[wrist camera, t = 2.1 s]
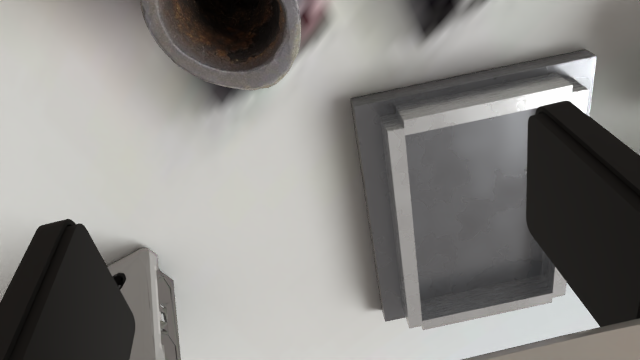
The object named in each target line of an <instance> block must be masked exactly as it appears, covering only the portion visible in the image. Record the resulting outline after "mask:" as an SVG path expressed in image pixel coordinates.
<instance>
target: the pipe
mask: <svg viewBox="0 0 640 360" xmlns="http://www.w3.org/2000/svg"><path fill="white" fill-rule="evenodd" d="M141 10H142V13H143V16H144V20H145V23H146V25H147V27H148V29H149V31H150V33H151V35H152V36H153V38H154V39H155V41H156V42H157V44H158V45H159V47H160V48H161V49H162V50H163V51H164V52H165V53H166V54H167V55H168V56H169V57H170V58H171V59H172V60H173V61H174V63H176V64H177V65H178V66H179V67H180V68H182V69H183V70H185V71H187V72H189V73H191V74H192V75H194V76H196V77H198V78H200V79H202V80H204V81H207V82H209V83H213V84H217V85H220V86H225V87H230V88H237V89H244V90H257V89H260V88H269V87H271V86H273V85H275V84H277V83H278V82H279V81H280V80H281V79H282V78H283V77H284V76H285V75H286V74H287V72H288V71H289V70H290V67H291V65H292V63H293V61H294V59H295V57H296V55H297V53H298V51H299V46H300V41H301V20H300V11H299V5H298V1H297V0H141Z"/></svg>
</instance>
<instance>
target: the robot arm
mask: <svg viewBox="0 0 640 360" xmlns="http://www.w3.org/2000/svg"><path fill="white" fill-rule="evenodd" d="M526 222H527V226H528V229H529V231H530V233H531V235H532V236H533V238H534V239H535V240H536V242H537V243H538V244H539V246H540V247H541V248H542V250H543V251H544V252H545V254H546V255H547V256H548V258H549V259H550V260H551V262H552V263H553V264H554V266H555V267H556V268H557V270H558V271H559V272H560V274H561V275H562V276H563V278H564V279H565V280H566V282H567V283H568V284H569V286H570V287H571V288H572V290H573V291H574V292H575V294H576V295H577V296H578V298H579V299H580V300H581V302H582V303H583V304H584V306H585V307H586V308H587V310H588V311H589V312H590V314H591V315H592V316H593V318H594V319H595V320H596V322H597V323H598V324H599V326H600V327H599V328H595V329H590V330H586V331H581V332H577V333H572V334H568V335H563V336H559V337H555V338H551V339H546V340H542V341H538V342H534V343H530V344H525V345H521V346H517V347H513V348H509V349H504V350H500V351H496V352H492V353H487V354H483V355H479V356H475V357H471V358H466V359H462V360H640V156H639V155H638V154H637V153H635V152H634V151H633V150H632V149H630V148H629V147H628V146H626V145H625V144H624V143H623V142H621V141H620V140H619V139H618V138H616V137H615V136H614V135H612V134H611V133H610V132H609V131H607V130H606V129H605V128H603V127H602V126H601V125H600V124H598V123H597V122H596V121H594V120H593V119H592V118H591V117H589V116H588V115H587V114H586V113H584V112H583V111H582V110H580V109H579V108H578V107H577V106H575V105H574V104H573V103H571V102H570V101H568V100H565V101H560V102H556V103H552V104H548V105H544V106H539V107H538V108H537V110H536V112H535V115H532V116H530V117H529V119H528V140H527V193H526ZM134 334H135V319H134V315H133V313H132V311H131V309H130V307H129V306H128V304H127V302H126V300H125V298H124V297H123V295H122V293H121V291H120V289H119V287H118V286H117V284H116V282H115V280H114V278H113V277H112V275H111V273H110V271H109V269H108V267H107V266H106V264H105V262H104V260H103V258H102V256H101V255H100V253H99V251H98V249H97V247H96V246H95V244H94V242H93V240H92V238H91V236H90V235H89V233H88V231H87V229H86V228H85V226H84V225H82V224H75V223H74V222H73V221H72V220H70V219H66V220H62V221H58V222H54V223H50V224H45V225H42V226H39V228H38V229H37V231H36V233H35V235H34V237H33V239H32V241H31V243H30V245H29V247H28V249H27V251H26V253H25V255H24V257H23V259H22V261H21V263H20V264H19V266H18V268H17V270H16V272H15V274H14V276H13V278H12V280H11V282H10V284H9V286H8V288H7V290H6V292H5V294H4V296H3V298H2V300H1V302H0V360H130V355H131V350H132V345H133V339H134Z"/></svg>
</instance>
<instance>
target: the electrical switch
mask: <svg viewBox="0 0 640 360" xmlns="http://www.w3.org/2000/svg"><path fill="white" fill-rule="evenodd" d="M108 269H109V271H110V273H111V275H112V277H113V278H114V280H115V282H116V284H117V286H118V287H119V289H120V291H121V293H122V295H123V297H124V298H125V300H126V302H127V304H128V306H129V307H130V309H131V311H132V313H133V315H134V319H135V334H134V339H133V345H132V350H131V355H130V360H181V357H180V346H179V336H178V325H177V315H176V305H175V294H174V284H173V280H172V279H171V278H169V277H168V276H166V275H165V274H163V273H162V272H161V271H160V270H159V269H158V255H157V254H156V253H154V252H153V251H151V250H149V249H148V248H141V249H139V250H137V251H135V252H134V253H132V254H130V255H128V256H126V257H124V258H122V259H121V260H119V261H117V262H115V263H113V264H111V265H110V266H108ZM160 304H161V305H162V306H164V308H162V307H161V306H160ZM162 313H163V315H164V320H165V322H163V321H162V319H161V314H162Z"/></svg>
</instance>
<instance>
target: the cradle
mask: <svg viewBox="0 0 640 360" xmlns="http://www.w3.org/2000/svg"><path fill="white" fill-rule="evenodd" d="M596 58H597V56H596V55H594V54H592V53H591V52H589V51H588V50H582V51H577V52H572V53H567V54H563V55H558V56H553V57H548V58H543V59H539V60H534V61H529V62H524V63H519V64H515V65H510V66H505V67H500V68H495V69H491V70H486V71H481V72H476V73H472V74H467V75H462V76H457V77H452V78H448V79H443V80H438V81H433V82H428V83H424V84H419V85H414V86H409V87H404V88H400V89H395V90H390V91H385V92H380V93H376V94H371V95H366V96H361V97H356V98H352V99H351V106H352V112H353V119H354V126H355V132H356V139H357V146H358V153H359V159H360V166H361V173H362V179H363V186H364V193H365V199H366V206H367V213H368V220H369V226H370V233H371V240H372V246H373V253H374V260H375V267H376V273H377V280H378V287H379V293H380V300H381V307H382V312H383V315H384V319H385V322H386V321H390V320H395V319H400V318H404V317H406V319H407V322H408V325H409V328H414V327H418V326H422V329H423V330H425V329H430V328H435V327H439V326H444V325H449V324H453V323H458V322H463V321H467V320H472V319H477V318H481V317H486V316H491V315H495V314H500V313H505V312H509V311H514V310H519V309H523V308H528V307H532V306H537V305H542V304H546V303H551V302H552V298H553V297H558V296H563V295H565V291H566V283H567V282H566V280H565V279H564V278H563V276H562V275H561V274H560V272H559V271H558V270H557V268H556V267H555V266H554V264H553V263H552V262H551V260H550V259H549V258H548V256H547V255H546V254H545V252H544V251H543V250H542V248H541V247H540V246H539V244H538V243H537V242H536V240H535V239H534V238H533V236H532V235H531V233H530V231H529V229H528V226H527V222H526V193H527V140H528V119H529V117H530V116H532V115H535V112H536V110H537V108H538V107H539V106H544V105H548V104H552V103H556V102H560V101H565V100H568V101H570V102H571V103H573V104H574V105H575V106H577V107H578V108H579V109H580V110H582V111H583V112H584V113H586V114H587V115H588V116H589V117H590V108H591V100H592V92H593V83H594V75H595V67H596Z"/></svg>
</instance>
